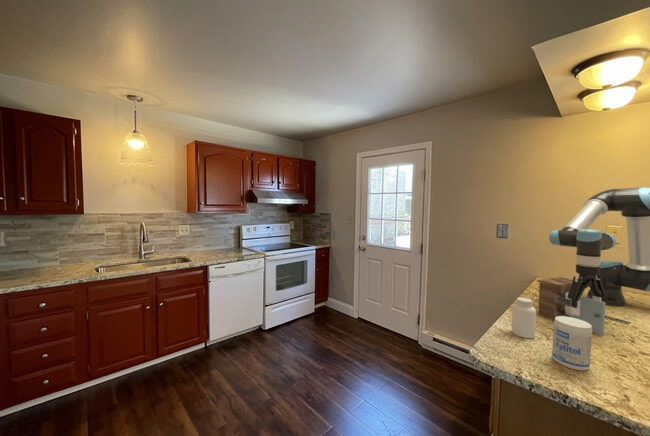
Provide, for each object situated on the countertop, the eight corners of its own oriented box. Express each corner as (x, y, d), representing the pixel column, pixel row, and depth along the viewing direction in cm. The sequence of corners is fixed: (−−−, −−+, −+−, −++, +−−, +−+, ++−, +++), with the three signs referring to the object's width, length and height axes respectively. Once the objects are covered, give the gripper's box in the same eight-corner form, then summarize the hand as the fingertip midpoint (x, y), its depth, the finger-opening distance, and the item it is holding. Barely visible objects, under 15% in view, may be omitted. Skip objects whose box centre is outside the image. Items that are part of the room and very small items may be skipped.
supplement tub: (552, 364, 90) (553, 321, 89) (551, 352, 97) (553, 313, 97) (592, 375, 84) (594, 330, 83) (588, 362, 91) (590, 320, 90)
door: (568, 321, 124) (569, 292, 123) (605, 334, 111) (607, 302, 110) (562, 322, 122) (563, 292, 122) (599, 336, 110) (601, 303, 109)
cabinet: (560, 309, 138) (561, 277, 137) (595, 321, 124) (597, 285, 123) (534, 313, 133) (535, 279, 132) (568, 326, 119) (569, 288, 118)
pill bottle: (529, 340, 106) (530, 304, 105) (507, 332, 113) (508, 297, 112) (539, 336, 109) (540, 300, 109) (517, 328, 116) (518, 295, 116)
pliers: (576, 306, 142) (633, 319, 125) (576, 307, 142) (633, 320, 125) (571, 309, 136) (630, 324, 120) (571, 311, 136) (629, 326, 120)
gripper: (596, 261, 122) (594, 306, 123) (557, 265, 115) (556, 312, 116) (617, 264, 115) (615, 312, 116) (578, 269, 108) (576, 319, 109)
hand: (585, 312), depth 116 cm, fingers open, 13 cm apart
